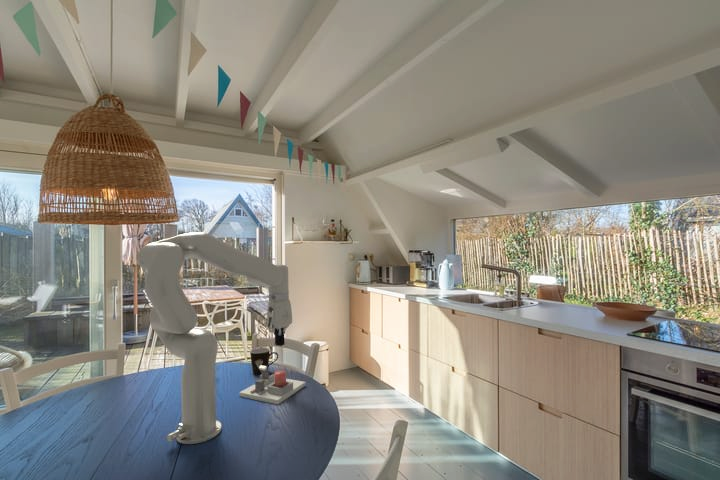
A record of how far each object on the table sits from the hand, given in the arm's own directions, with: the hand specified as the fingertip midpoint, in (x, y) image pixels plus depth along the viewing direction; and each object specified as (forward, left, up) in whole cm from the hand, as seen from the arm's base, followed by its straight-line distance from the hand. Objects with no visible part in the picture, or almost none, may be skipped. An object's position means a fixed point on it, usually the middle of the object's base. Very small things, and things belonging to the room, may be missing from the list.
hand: (279, 344), depth 134 cm
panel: (+2, +5, -19) cm, 20 cm away
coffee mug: (+16, +22, -19) cm, 33 cm away
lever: (+6, +12, -16) cm, 21 cm away
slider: (-4, +7, -17) cm, 19 cm away
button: (0, 0, -15) cm, 15 cm away
